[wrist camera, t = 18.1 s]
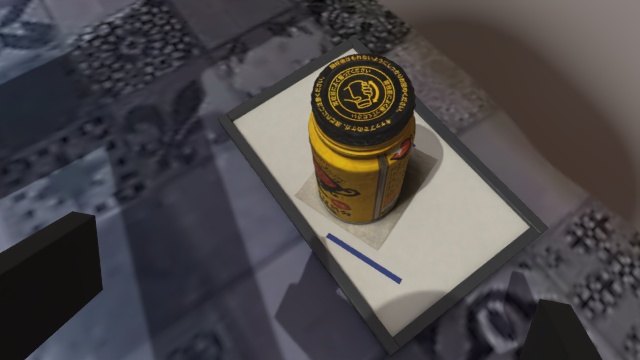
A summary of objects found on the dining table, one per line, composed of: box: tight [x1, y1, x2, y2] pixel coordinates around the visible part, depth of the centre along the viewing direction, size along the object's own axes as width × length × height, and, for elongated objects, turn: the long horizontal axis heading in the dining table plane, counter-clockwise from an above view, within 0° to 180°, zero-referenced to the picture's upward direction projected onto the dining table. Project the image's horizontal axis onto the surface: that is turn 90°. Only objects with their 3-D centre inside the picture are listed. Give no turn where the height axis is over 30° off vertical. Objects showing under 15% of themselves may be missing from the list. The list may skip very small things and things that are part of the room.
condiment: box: [294, 53, 438, 250], centre depth 27 cm, size 7×8×12 cm
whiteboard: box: [218, 36, 548, 356], centre depth 32 cm, size 22×14×1 cm, turn 36°
